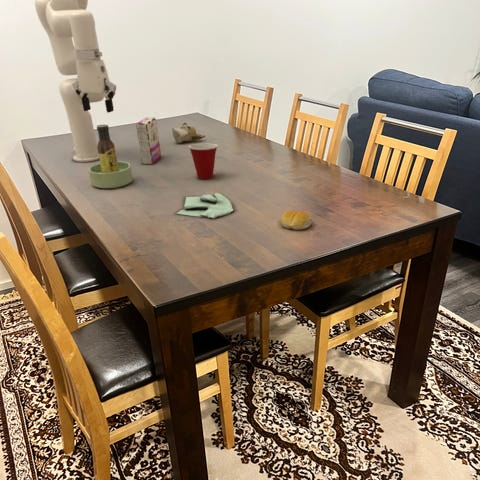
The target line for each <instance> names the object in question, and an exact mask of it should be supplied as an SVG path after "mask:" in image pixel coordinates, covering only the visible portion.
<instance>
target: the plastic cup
mask: <svg viewBox="0 0 480 480" xmlns="http://www.w3.org/2000/svg"><path fill="white" fill-rule="evenodd" d="M218 146H219V145H218V144H216V143H210V142H209V143H206V142H205V143H203V142H202V143H195V144H194V143H193V144H189V145H188V148H189V150H190V155H191V157H192V160H193V165H194V169H195V172H196V176H197V178H198V179H199V180H211V179H212V178H213V177H214V172H215V171H214V170H215V163H216V153H217V148H218Z"/></svg>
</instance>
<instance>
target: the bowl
mask: <svg viewBox="0 0 480 480" xmlns="http://www.w3.org/2000/svg"><path fill="white" fill-rule="evenodd" d="M117 163H118V169H119V171H118V172H113V173H102V171H101V165H100V162H99V163H95V164H93V165H91V166H90V167H88V175H89V180H90V184H91V185H92V186H93V187H95V188H101V189H115V188H120V187H124V186H126V185H128V184H130V183H131V182H133V181H134V178H133V171H132V166H131V163H129V162H127V161H120V160H117Z"/></svg>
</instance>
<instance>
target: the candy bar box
mask: <svg viewBox="0 0 480 480" xmlns="http://www.w3.org/2000/svg"><path fill="white" fill-rule="evenodd" d="M135 127H136V133H137V138H138V145H139V150H140V157H141V163H142V165H154V164H155V163H156V162H157V161H158V160H159V159H161V157H162V151H161V146H160V138H159V132H158V123H157V118H156V117H151V116H150V117H147V116H146V117H144V118H142V119H141V120H140V121H138V122H137V123H135Z"/></svg>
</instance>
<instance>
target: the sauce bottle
mask: <svg viewBox="0 0 480 480" xmlns="http://www.w3.org/2000/svg"><path fill="white" fill-rule="evenodd" d="M96 130H97V132H98V133H97V134H98V139H99V140H98V142H97V148H98V154H99V159H98V160H99V163H100V165H101V171H102V173H113V172H118V171H119V169H118V163H117V161H118V158H117V153H116V147H115V143H114V142H113V141H112V140H111V136H110V128H109V125H108V124H98V125H96Z"/></svg>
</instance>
